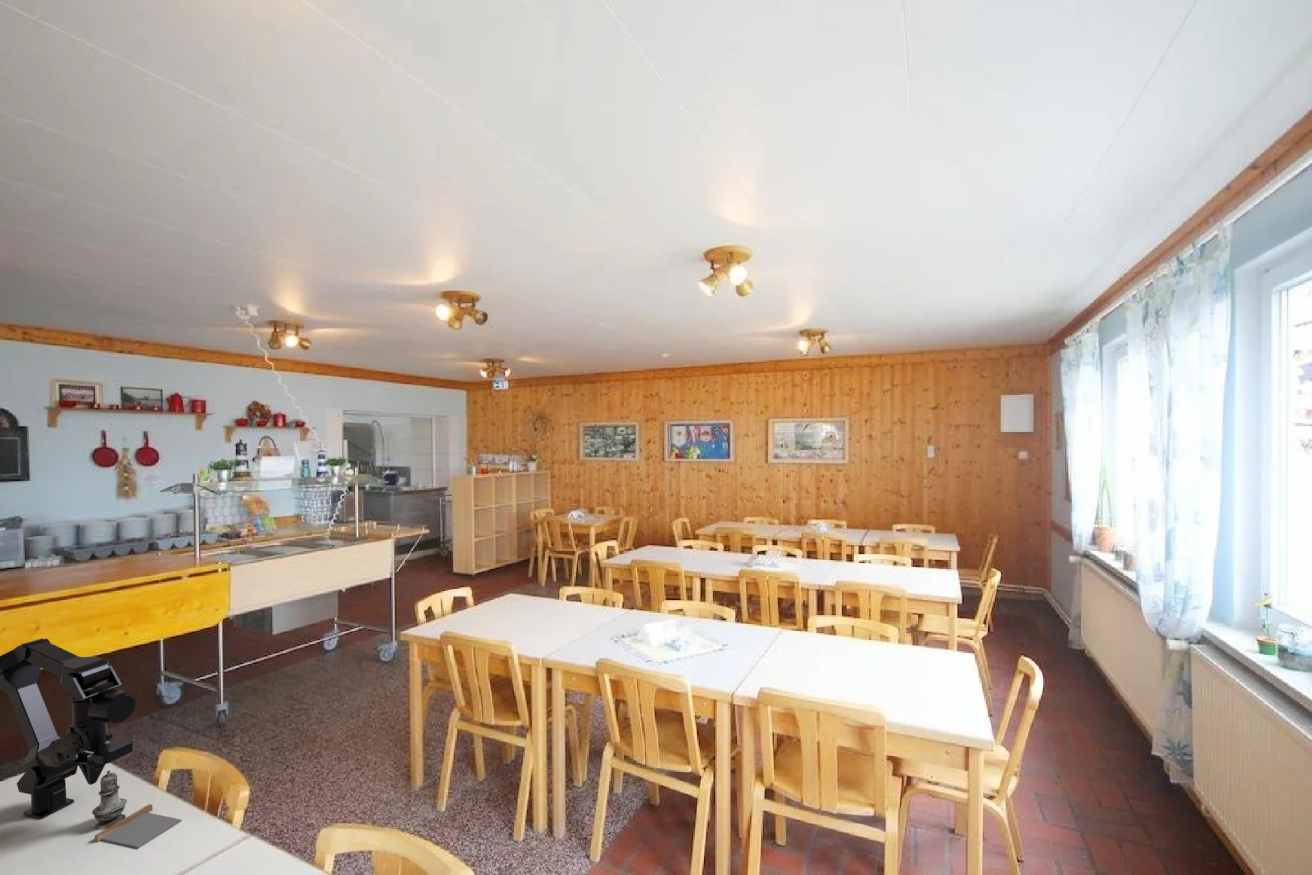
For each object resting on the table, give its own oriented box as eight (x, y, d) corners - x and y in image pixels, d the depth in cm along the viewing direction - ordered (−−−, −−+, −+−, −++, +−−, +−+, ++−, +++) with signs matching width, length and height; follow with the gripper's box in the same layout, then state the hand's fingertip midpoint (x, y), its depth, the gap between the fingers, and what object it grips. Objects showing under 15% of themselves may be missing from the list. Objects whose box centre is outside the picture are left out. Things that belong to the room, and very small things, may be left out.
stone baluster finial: (106, 832, 132) (104, 779, 131) (85, 828, 133) (83, 776, 133) (134, 814, 137) (132, 764, 137) (114, 812, 139) (112, 761, 138)
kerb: (94, 840, 129) (94, 835, 129) (149, 809, 139) (149, 804, 139) (98, 841, 129) (97, 836, 129) (152, 809, 139) (152, 804, 139)
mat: (100, 840, 129) (100, 838, 129) (145, 813, 138) (145, 812, 138) (138, 848, 126) (137, 846, 126) (181, 821, 135) (181, 819, 135)
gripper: (16, 729, 131) (19, 799, 131) (76, 739, 126) (79, 811, 126) (76, 706, 141) (79, 770, 142) (134, 714, 137) (136, 781, 137)
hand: (92, 783), depth 136 cm, fingers closed
